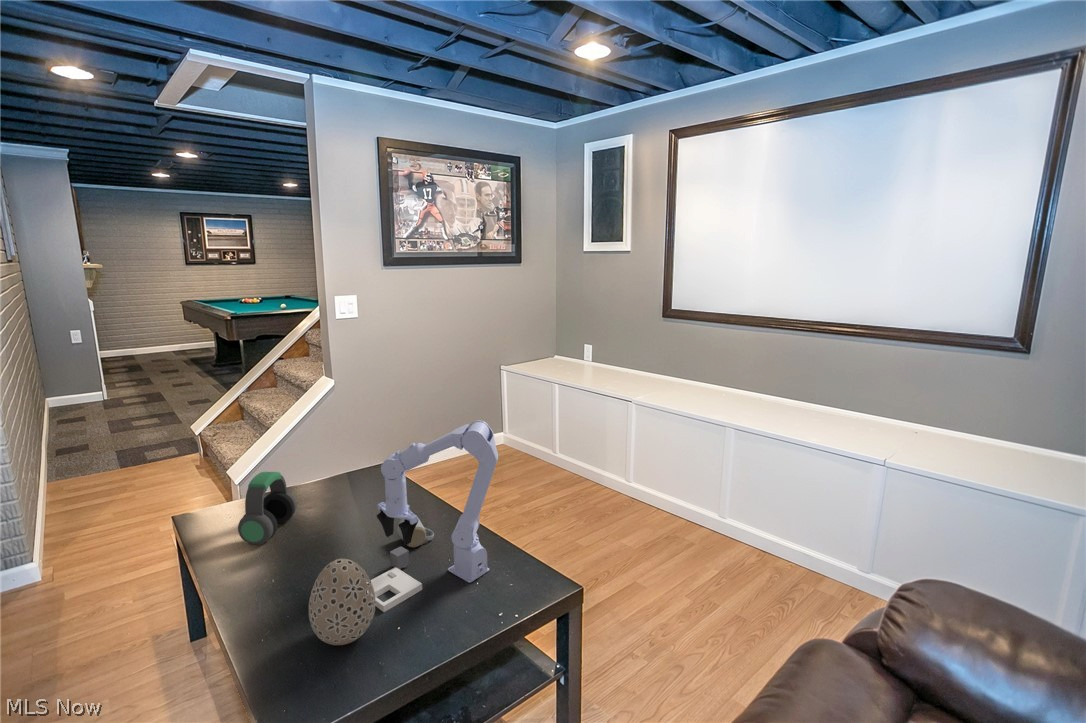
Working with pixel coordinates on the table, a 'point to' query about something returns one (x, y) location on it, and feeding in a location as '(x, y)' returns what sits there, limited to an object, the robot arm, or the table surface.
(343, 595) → the ornament
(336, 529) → the table surface
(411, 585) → the socket
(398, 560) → the plug
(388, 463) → the robot arm
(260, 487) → the headphones
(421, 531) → the ceramic mug
